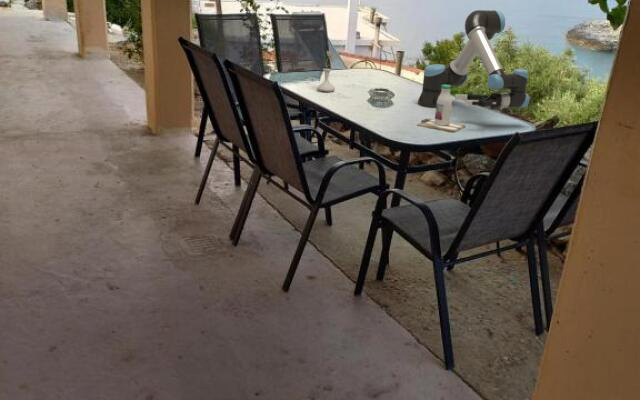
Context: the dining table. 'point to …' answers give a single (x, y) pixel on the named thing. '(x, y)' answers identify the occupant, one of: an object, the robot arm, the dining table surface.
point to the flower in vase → (326, 85)
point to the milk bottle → (443, 107)
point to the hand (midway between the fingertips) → (460, 99)
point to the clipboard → (449, 128)
